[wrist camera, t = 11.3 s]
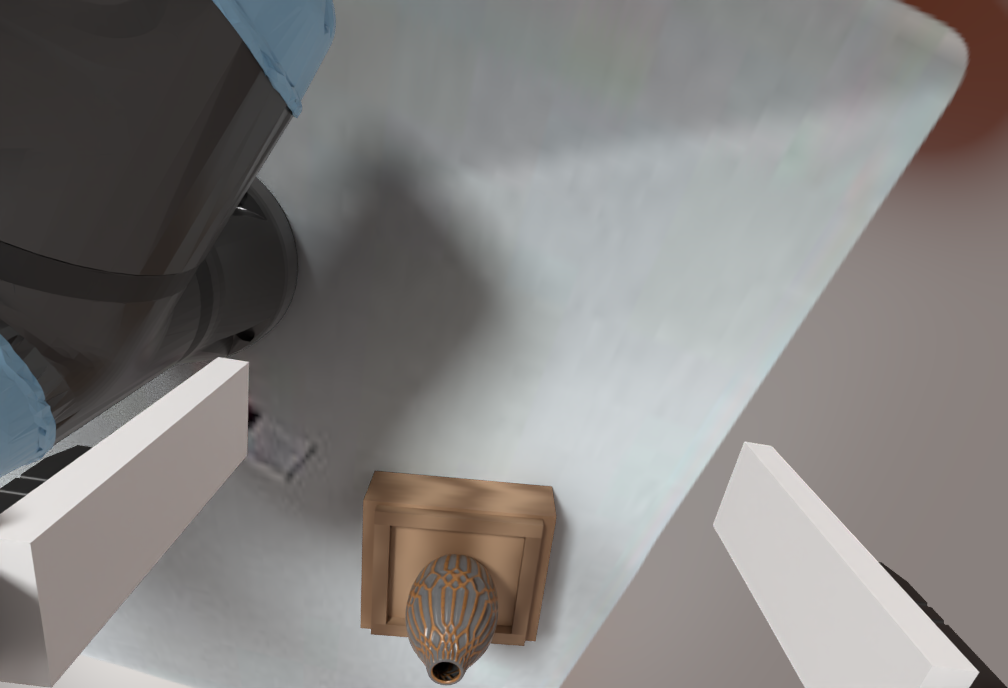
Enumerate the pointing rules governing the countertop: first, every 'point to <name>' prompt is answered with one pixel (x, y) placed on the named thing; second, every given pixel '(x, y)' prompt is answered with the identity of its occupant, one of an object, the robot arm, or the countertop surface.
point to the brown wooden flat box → (455, 545)
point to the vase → (451, 616)
